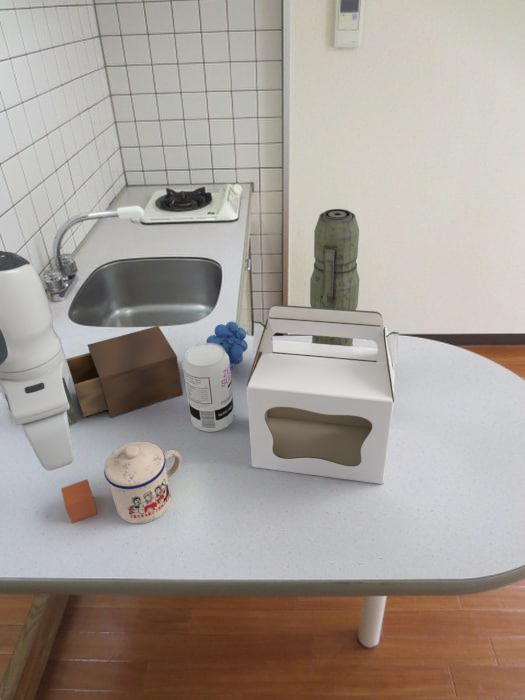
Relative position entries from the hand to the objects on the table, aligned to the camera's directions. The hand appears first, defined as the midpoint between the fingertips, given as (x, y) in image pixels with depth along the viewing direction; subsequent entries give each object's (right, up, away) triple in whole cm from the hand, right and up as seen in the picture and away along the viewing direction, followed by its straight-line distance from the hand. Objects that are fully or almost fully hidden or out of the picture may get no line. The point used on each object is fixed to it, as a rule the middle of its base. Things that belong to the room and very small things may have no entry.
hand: (59, 447), depth 76 cm
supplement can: (+20, +1, +23) cm, 31 cm away
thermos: (+44, +8, +32) cm, 55 cm away
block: (+1, -11, +7) cm, 13 cm away
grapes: (+23, +9, +35) cm, 43 cm away
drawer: (-5, +4, +28) cm, 29 cm away
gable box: (+40, -3, +16) cm, 43 cm away
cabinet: (+4, +6, +32) cm, 33 cm away
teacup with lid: (+12, -10, +8) cm, 17 cm away
